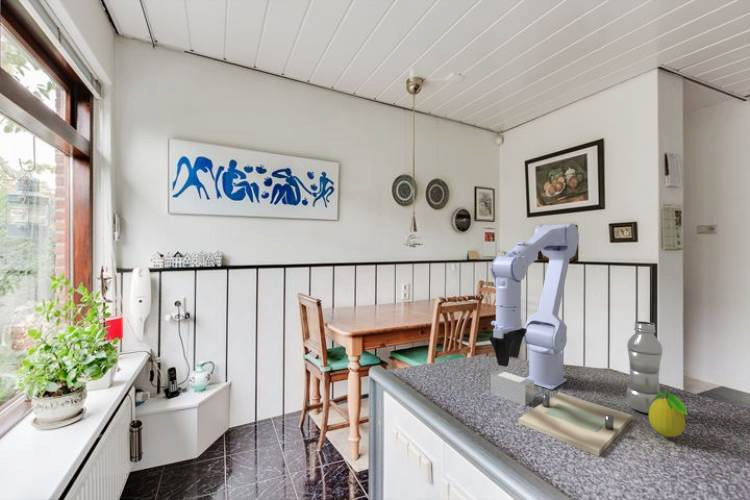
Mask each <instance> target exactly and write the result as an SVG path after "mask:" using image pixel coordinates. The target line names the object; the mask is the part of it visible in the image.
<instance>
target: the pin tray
mask: <svg viewBox="0 0 750 500" xmlns="http://www.w3.org/2000/svg"><path fill="white" fill-rule="evenodd" d="M632 415H633V414H629V413H627V412H623V411H620V410H616V409H613V408H610V407H607V406H604V405H601V404H598V403H594V402H591V401H588V400H584V399H582V398H579V397H576V396H572V395H569V394H566V393H563V392H560V391H558V392H557V393H556V394H553V395H552V396H550V395H549V394H547V393H543V394H542V402H541V403H540V404H538V405H537V406H535V407H534V408H532V409H530V410H529V411H527V412H526V413H525V414H523V415H521V416H520V417H519V418H518V424H519V425H523V426H524V427H527V428H528V429H529V428H530V429H532V430H534V431H536V432H539V433H542V434H544V435H545V436H549V437H551V438H554V439H556V440H558V441H560V442H563V443H565V444H568V445H570V446H572V447H575V448H577V449H579V450H582V451H584V452H586V453H590V454H592V455H594V456H596V457H600V456H601V454H603V453H604V451H605V450H607V448H608V447H609V446H610V445H611V444H612V442H613V441H614V440H615V439H616V438H617V437H618V436H619V435H620V433H621V432H623V430H624V429H625V428H626V427H627V425H629V423H630V422H631V421H632V419H633V416H632Z"/></svg>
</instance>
